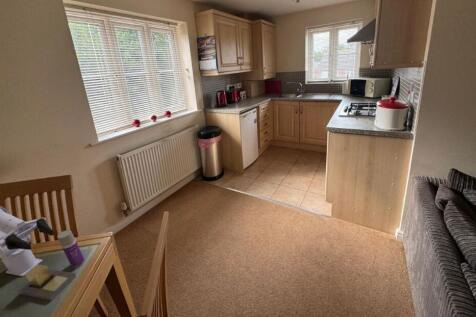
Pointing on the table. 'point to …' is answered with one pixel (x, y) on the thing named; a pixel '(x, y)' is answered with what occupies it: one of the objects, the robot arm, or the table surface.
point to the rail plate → (49, 286)
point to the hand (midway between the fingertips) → (41, 239)
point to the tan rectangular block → (39, 276)
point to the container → (71, 248)
